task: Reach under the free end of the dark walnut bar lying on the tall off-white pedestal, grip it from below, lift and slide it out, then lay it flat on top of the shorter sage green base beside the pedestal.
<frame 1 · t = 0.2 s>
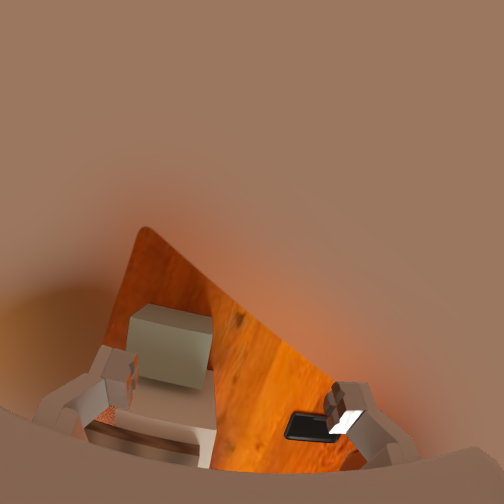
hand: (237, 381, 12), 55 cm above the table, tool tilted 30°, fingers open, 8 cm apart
sage base: (176, 332, 65), on the table
walnut bar: (129, 439, 38), point 26 cm above the table, touching white pedestal
phone: (314, 426, 69), on the table
white pedestal: (176, 384, 64), on the table
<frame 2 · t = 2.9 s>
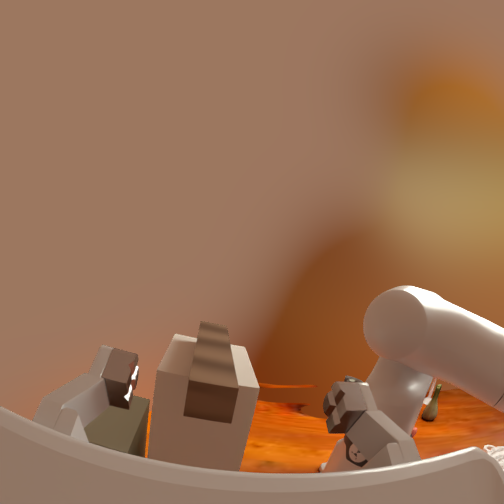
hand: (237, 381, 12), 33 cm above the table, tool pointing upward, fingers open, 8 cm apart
sage base: (103, 494, 31), on the table
walnut bar: (208, 371, 31), point 26 cm above the table, touching white pedestal
food container: (347, 413, 82), on the table
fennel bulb: (427, 419, 77), on the table
champagne flute: (427, 402, 93), on the table
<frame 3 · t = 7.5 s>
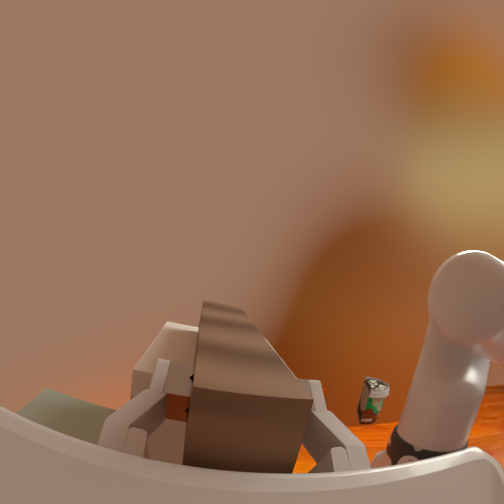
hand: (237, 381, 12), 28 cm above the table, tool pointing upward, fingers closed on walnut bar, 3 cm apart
walnut bar: (221, 371, 18), point 26 cm above the table, touching gripper, white pedestal
food container: (368, 418, 69), on the table
when the fingers open (20 cm above the table, at t = 19.9 s): walnut bar drops 2 cm, resting on sage base.
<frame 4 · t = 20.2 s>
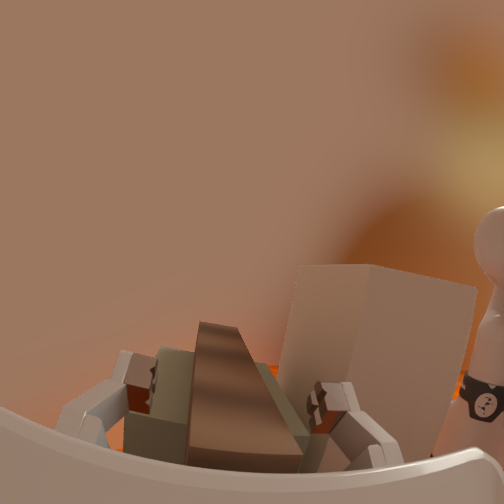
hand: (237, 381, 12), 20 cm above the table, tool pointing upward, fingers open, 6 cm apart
walnut bar: (217, 400, 18), point 16 cm above the table, touching sage base
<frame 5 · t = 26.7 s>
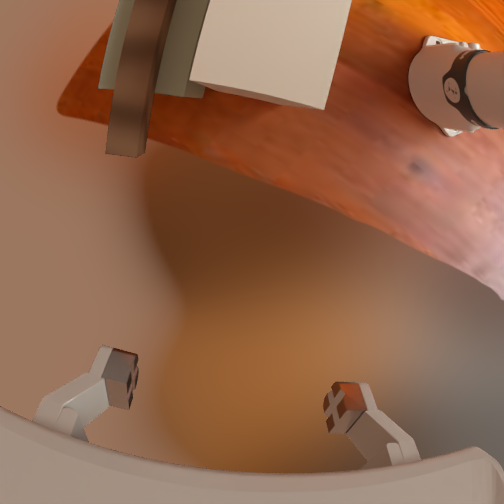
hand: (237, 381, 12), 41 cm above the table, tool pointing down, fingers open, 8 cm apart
sage base: (180, 51, 40), on the table
walnut bar: (146, 57, 27), point 16 cm above the table, touching sage base
white pedestal: (261, 53, 40), on the table
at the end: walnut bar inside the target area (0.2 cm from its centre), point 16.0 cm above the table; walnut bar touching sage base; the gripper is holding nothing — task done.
